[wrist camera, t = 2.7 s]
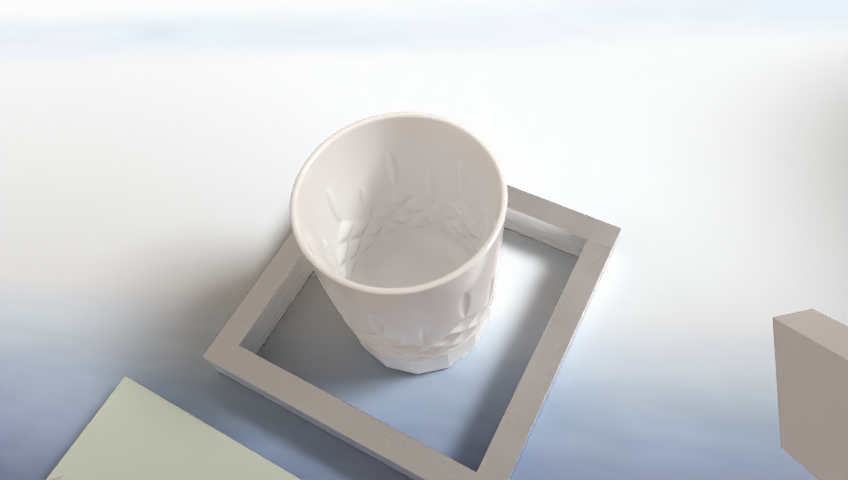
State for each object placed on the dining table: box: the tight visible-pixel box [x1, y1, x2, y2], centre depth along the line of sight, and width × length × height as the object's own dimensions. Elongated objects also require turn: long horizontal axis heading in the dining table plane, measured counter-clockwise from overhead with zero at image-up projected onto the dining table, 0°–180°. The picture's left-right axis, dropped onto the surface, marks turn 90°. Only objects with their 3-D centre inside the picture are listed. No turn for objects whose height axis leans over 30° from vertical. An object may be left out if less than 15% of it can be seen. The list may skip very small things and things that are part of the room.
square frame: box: [202, 185, 621, 480], centre depth 31 cm, size 14×14×2 cm
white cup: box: [290, 112, 508, 374], centre depth 28 cm, size 8×8×10 cm
